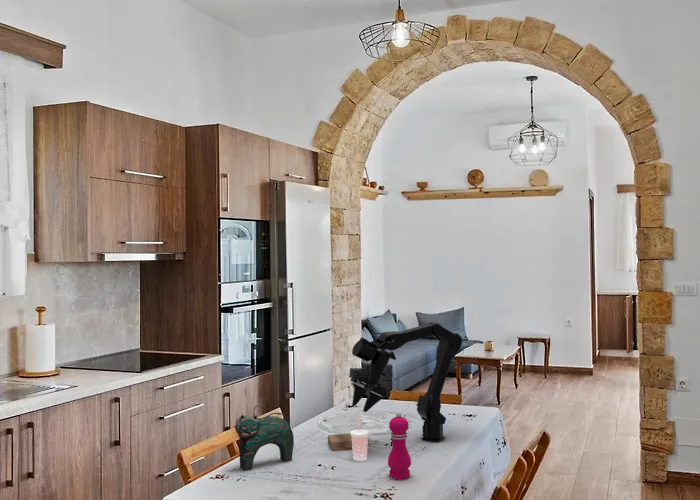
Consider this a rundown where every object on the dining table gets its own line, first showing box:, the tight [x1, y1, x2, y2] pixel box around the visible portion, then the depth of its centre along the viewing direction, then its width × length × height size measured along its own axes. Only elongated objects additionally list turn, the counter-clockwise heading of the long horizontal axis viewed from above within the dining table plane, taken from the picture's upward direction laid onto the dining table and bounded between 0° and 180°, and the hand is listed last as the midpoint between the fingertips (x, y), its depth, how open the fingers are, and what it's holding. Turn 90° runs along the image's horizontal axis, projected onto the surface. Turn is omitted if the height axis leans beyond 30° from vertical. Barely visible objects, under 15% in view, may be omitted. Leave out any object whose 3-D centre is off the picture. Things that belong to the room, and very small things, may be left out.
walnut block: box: [327, 432, 353, 452], centre depth 255 cm, size 9×9×3 cm
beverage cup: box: [350, 416, 370, 462], centre depth 241 cm, size 6×6×14 cm
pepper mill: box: [387, 411, 412, 480], centre depth 224 cm, size 7×7×20 cm
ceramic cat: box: [234, 404, 295, 472], centre depth 237 cm, size 20×6×20 cm, turn 122°
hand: (358, 408), depth 250 cm, fingers open, 9 cm apart
